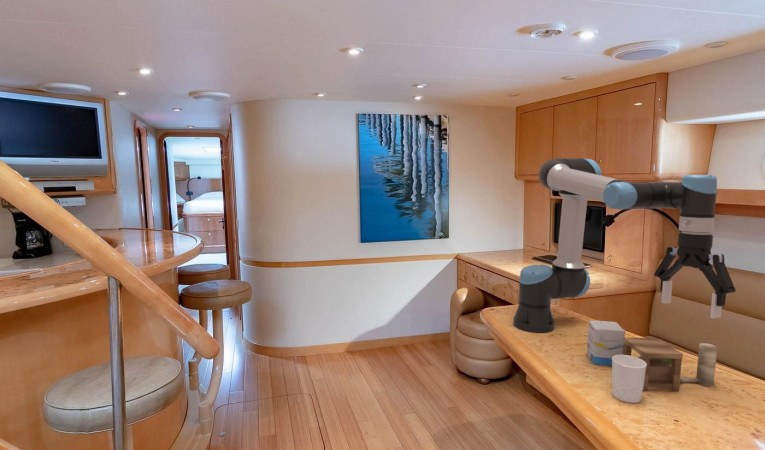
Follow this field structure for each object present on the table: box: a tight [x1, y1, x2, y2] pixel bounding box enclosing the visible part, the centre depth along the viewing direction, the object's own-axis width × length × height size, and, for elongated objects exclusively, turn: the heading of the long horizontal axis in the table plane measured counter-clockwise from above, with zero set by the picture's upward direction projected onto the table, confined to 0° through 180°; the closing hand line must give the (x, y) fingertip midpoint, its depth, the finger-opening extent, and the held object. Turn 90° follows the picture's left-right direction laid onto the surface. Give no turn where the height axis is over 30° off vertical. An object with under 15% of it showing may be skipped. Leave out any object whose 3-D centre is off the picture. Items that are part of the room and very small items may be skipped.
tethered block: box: [637, 342, 718, 387], centre depth 120 cm, size 6×20×11 cm, turn 88°
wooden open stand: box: [623, 337, 684, 393], centre depth 121 cm, size 11×10×11 cm
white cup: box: [611, 355, 647, 404], centre depth 113 cm, size 8×8×10 cm
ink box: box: [586, 320, 626, 367], centre depth 135 cm, size 8×8×12 cm
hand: (689, 309), depth 116 cm, fingers open, 13 cm apart
